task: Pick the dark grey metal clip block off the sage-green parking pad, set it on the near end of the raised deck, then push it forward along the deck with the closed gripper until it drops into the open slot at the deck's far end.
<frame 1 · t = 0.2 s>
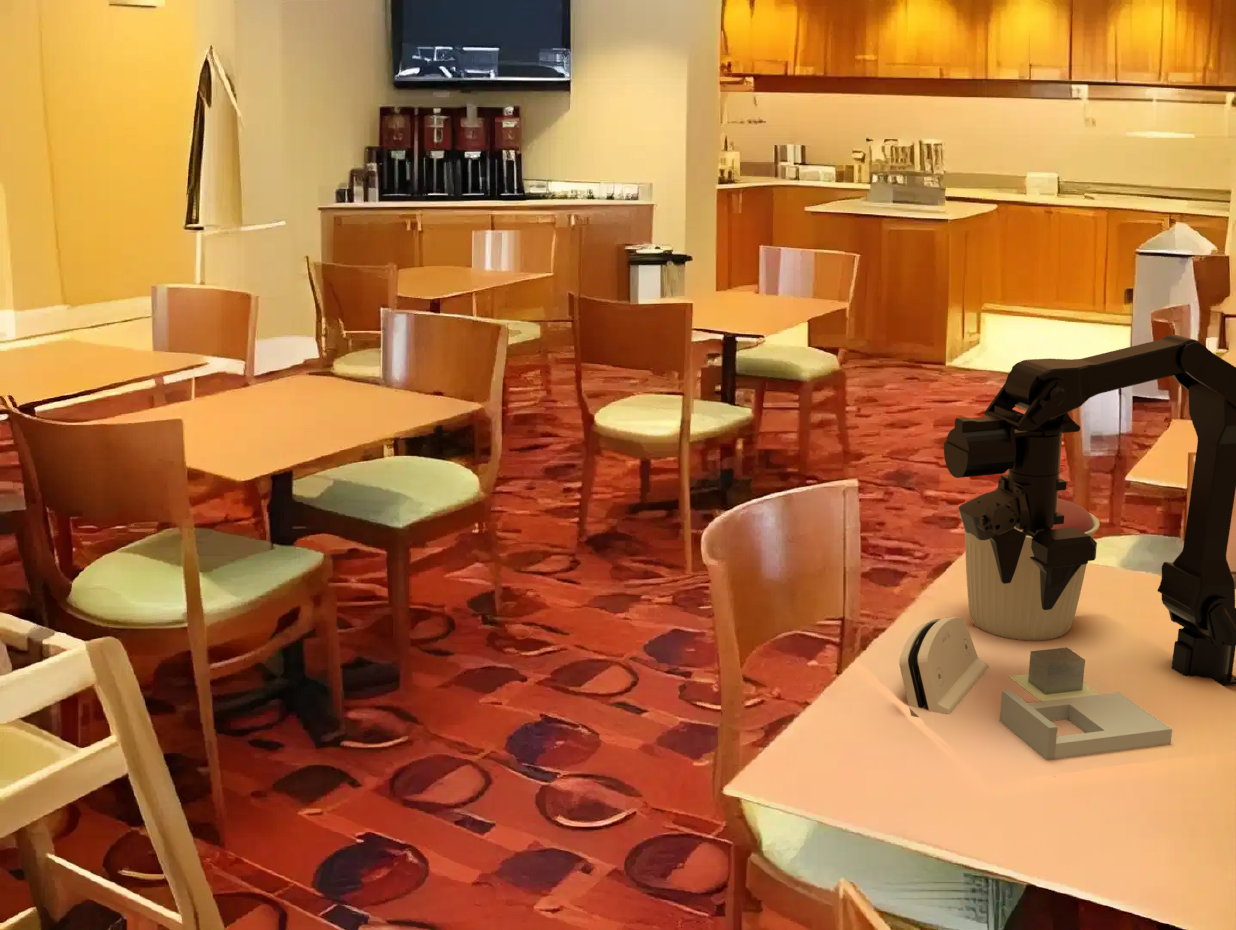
hand: (1025, 596, 161), 13 cm above the table, tool pointing down, fingers open, 9 cm apart
clip block: (1054, 685, 166), point 1 cm above the table, touching parking pad
beige half-round holder: (942, 695, 167), on the table
deck: (1084, 741, 154), on the table
canister: (1019, 632, 186), on the table
parking pad: (1054, 694, 166), on the table
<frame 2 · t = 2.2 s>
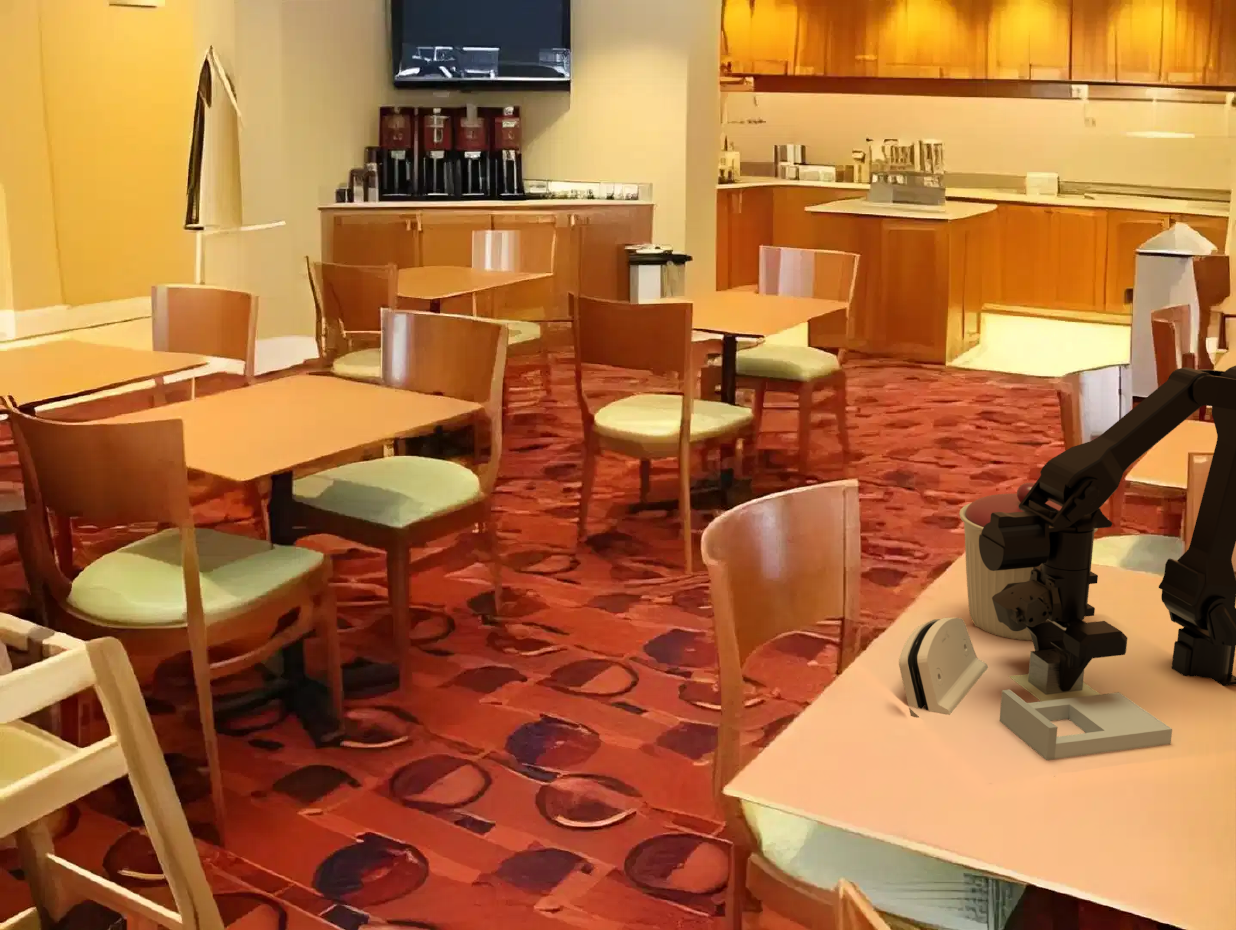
hand: (1055, 683, 166), 2 cm above the table, tool pointing down, fingers closed on clip block, 4 cm apart
clip block: (1054, 685, 166), point 1 cm above the table, touching gripper, parking pad
everything else where it was.
when the fingers open (5 cm above the table, at t = 5.5 s): clip block drops 2 cm, point 3 cm above the table.
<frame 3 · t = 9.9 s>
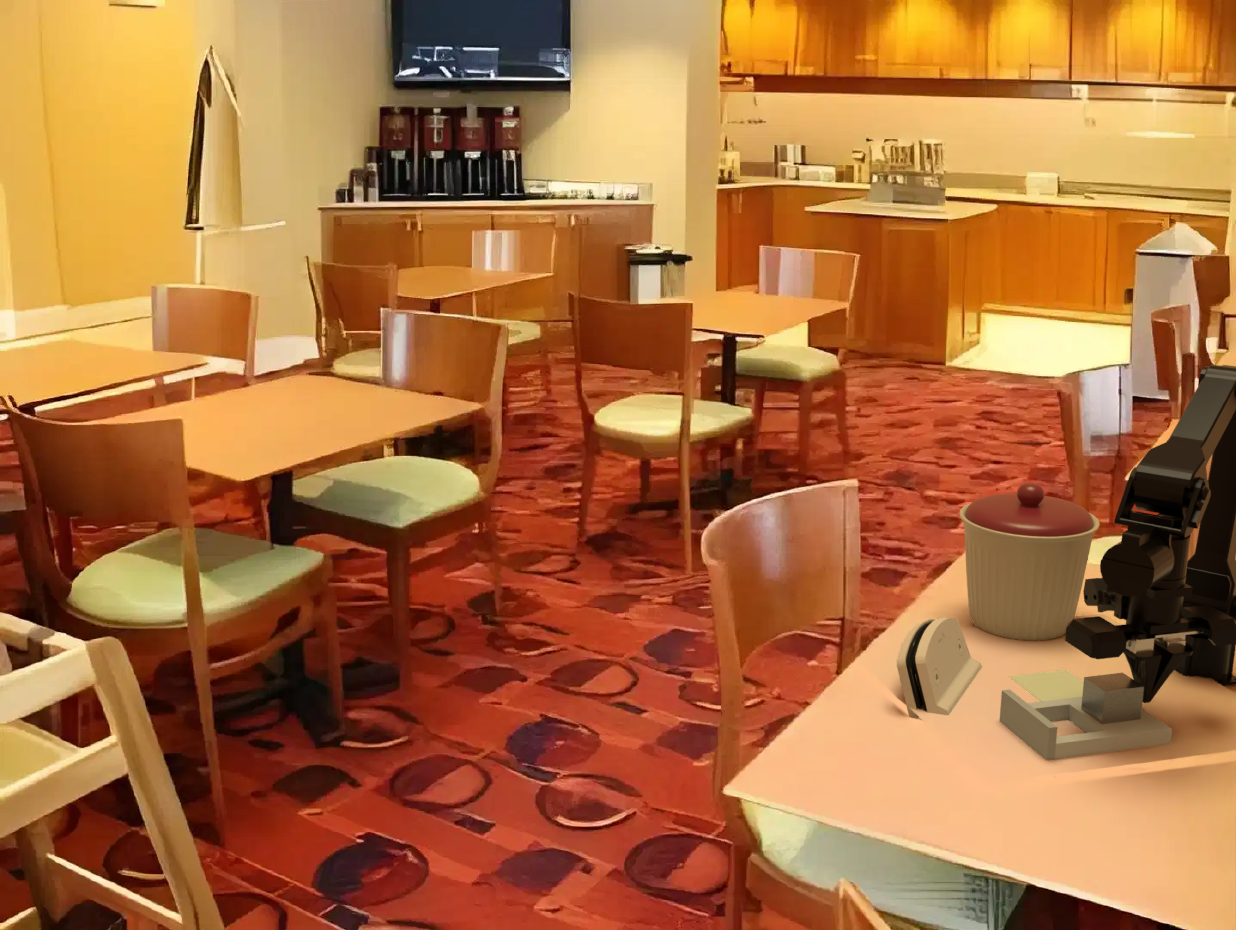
hand: (1144, 701, 155), 4 cm above the table, tool pointing down, fingers closed
clip block: (1110, 714, 154), point 3 cm above the table, touching gripper
everything else where it was.
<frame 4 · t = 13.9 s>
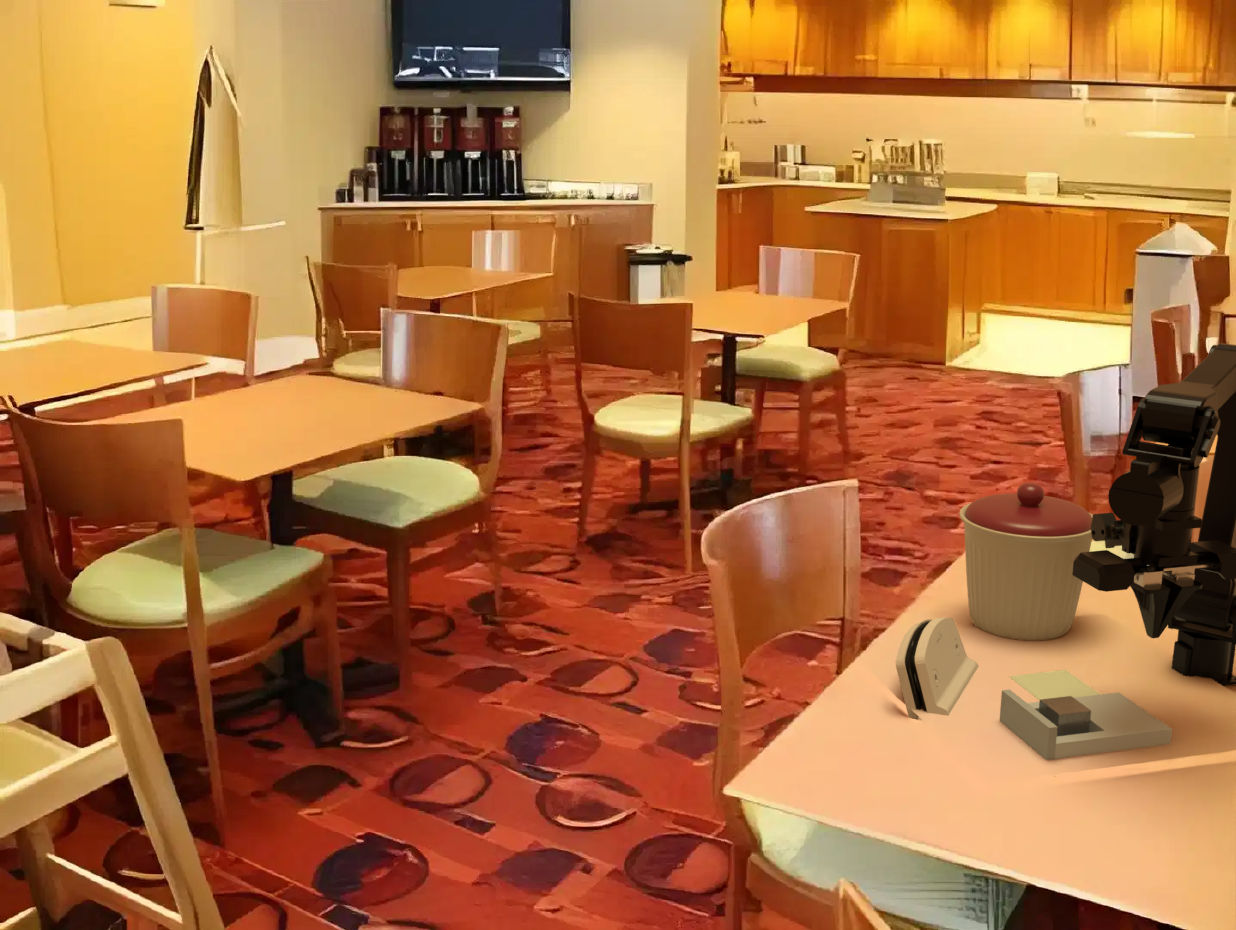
hand: (1152, 636, 153), 12 cm above the table, tool pointing down, fingers closed
clip block: (1079, 723, 153), point 2 cm above the table, tilted 90°
everything else where it was.
at the end: clip block inside the target area on the deck (2.7 cm from its centre), point 2.4 cm above the deck's base; clip block touching table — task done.
